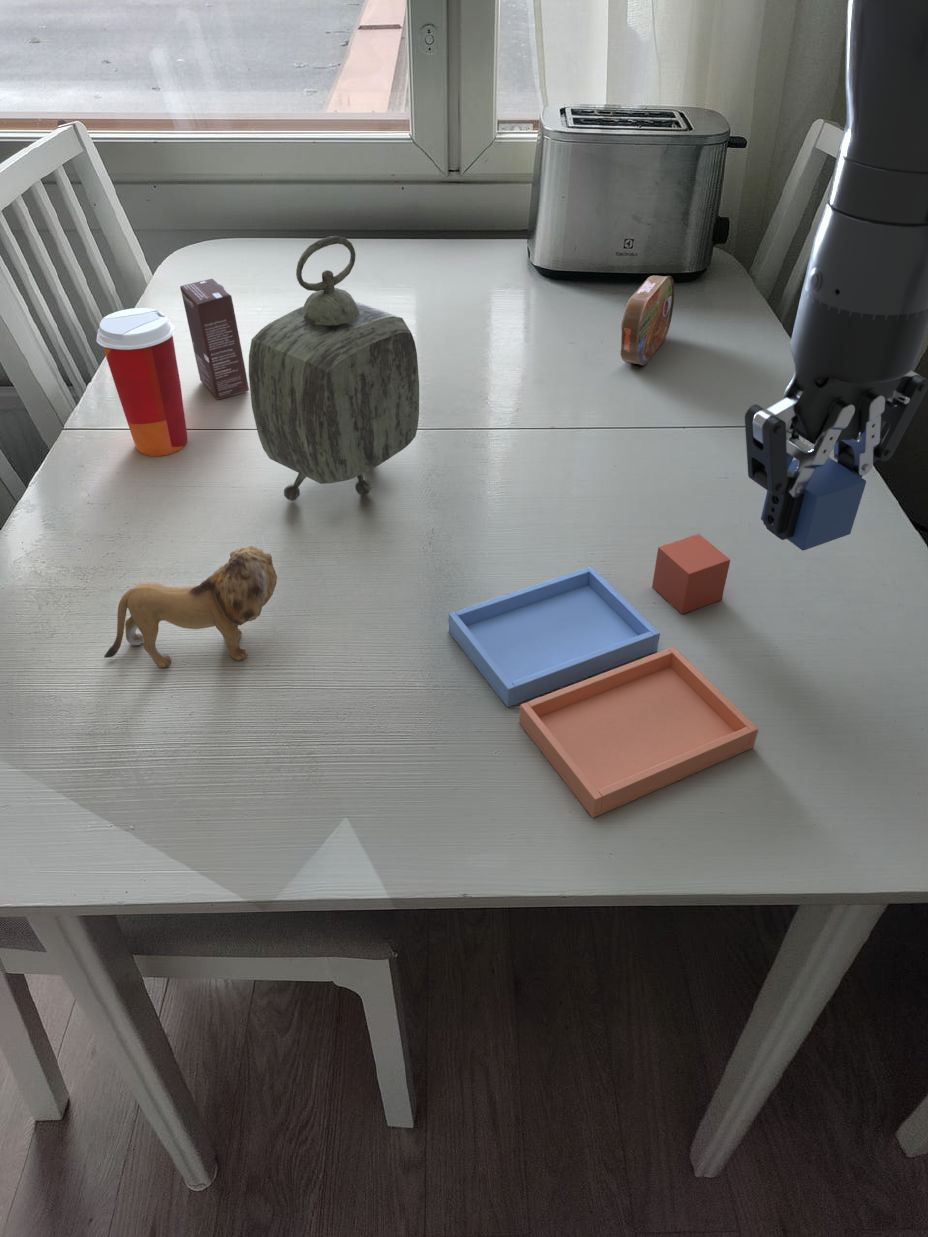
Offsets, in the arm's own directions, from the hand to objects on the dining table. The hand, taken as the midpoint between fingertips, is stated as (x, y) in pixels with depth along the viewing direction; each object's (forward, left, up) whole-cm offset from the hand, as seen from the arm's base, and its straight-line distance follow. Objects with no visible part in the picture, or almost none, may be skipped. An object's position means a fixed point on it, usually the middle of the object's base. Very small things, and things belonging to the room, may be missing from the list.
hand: (806, 522), depth 68 cm
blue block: (0, 0, 0) cm, 0 cm away
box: (+24, -69, -15) cm, 75 cm away
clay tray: (+13, +1, -15) cm, 20 cm away
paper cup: (+34, -59, -15) cm, 70 cm away
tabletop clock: (+19, -41, -15) cm, 48 cm away
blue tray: (+13, -11, -15) cm, 23 cm away
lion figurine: (+39, -24, -15) cm, 48 cm away
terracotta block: (-1, -11, -15) cm, 18 cm away
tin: (-27, -54, -15) cm, 62 cm away
